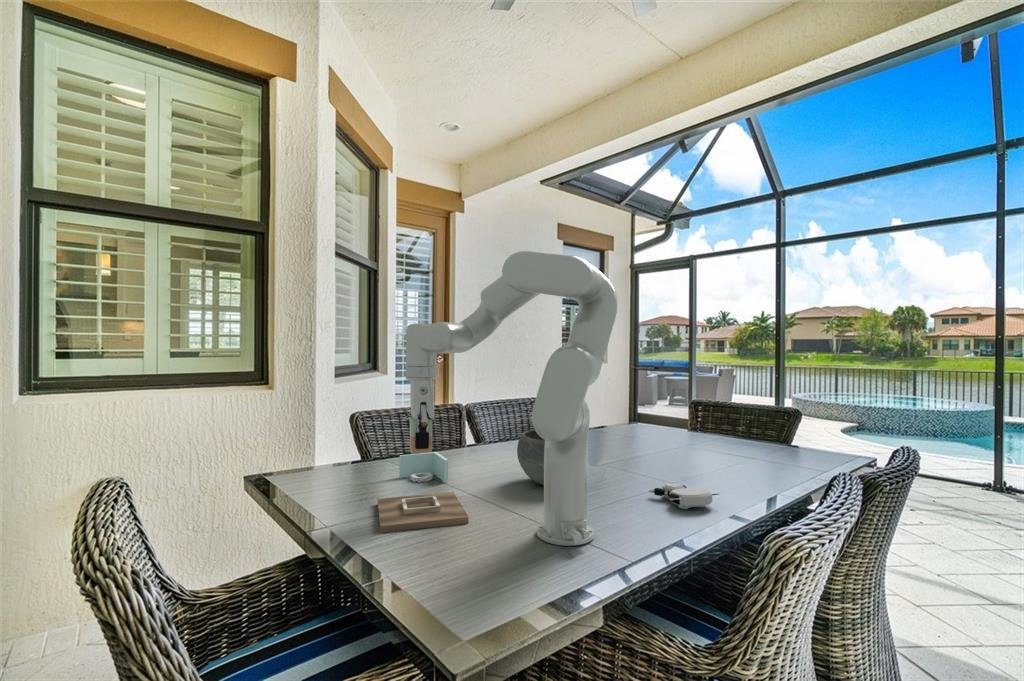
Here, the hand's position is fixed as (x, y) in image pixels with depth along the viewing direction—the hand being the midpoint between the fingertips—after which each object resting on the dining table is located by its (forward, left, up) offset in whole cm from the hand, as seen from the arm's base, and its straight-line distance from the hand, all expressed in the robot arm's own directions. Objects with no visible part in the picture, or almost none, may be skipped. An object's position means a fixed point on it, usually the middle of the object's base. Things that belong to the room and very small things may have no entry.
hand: (420, 445), depth 120 cm
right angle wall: (+30, -4, -18) cm, 35 cm away
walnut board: (0, 0, -17) cm, 17 cm away
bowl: (+15, -41, -17) cm, 47 cm away
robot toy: (-12, -68, -17) cm, 71 cm away
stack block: (0, 0, -1) cm, 1 cm away
